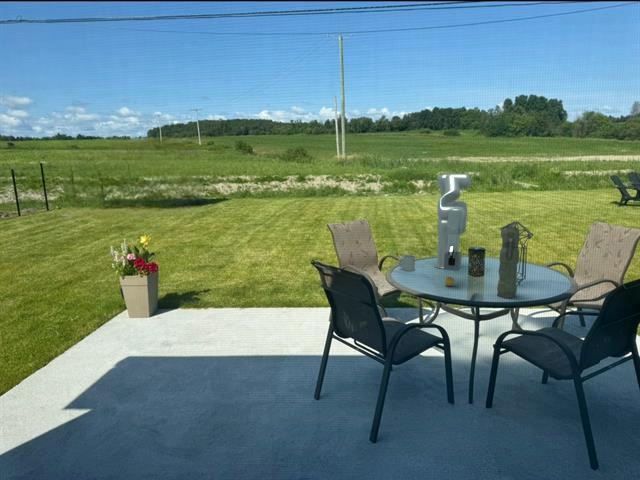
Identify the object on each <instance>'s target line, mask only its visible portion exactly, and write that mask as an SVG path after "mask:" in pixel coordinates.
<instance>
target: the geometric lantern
mask: <svg viewBox="0 0 640 480" xmlns="http://www.w3.org/2000/svg"><path fill="white" fill-rule="evenodd" d="M519 226H520V227H521V228H522V229H519ZM505 227H517V228H518V230H519V234H520V235H519V244H518V245H521V247H518V249H520V253H519V263H518V270H517V276H516V283H517V282H518V283H517V286H518V285H519V286H521V282H523V281H524V280H526V279H527V255H528V254H527V249H528V248H527V247H528V245H529V241H530V239H531V238H532V237H533V236H534V234H533V232H531V231H530V229H529V228H527V227H526V226H524V225H523V224H522V223H521V222H520V221H512V222H511V223H508V224H506V225H504V226H502V227H500V228H499V230H500V237H501V239H502V238H503V231H504V229H505ZM520 231H521V232H520ZM524 232H527V234H523V233H524ZM520 236H521V238H520ZM525 238H526V239H525ZM523 239H525V241H524V242H523V241H522V240H523ZM525 244H526V245H525ZM521 260H522V261H521ZM520 271H521V272H520ZM498 275H500V265H499V267H498ZM518 275H519V276H518ZM520 277H521V278H520Z"/></svg>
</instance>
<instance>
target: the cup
mask: <svg viewBox="0 0 640 480" xmlns="http://www.w3.org/2000/svg"><path fill="white" fill-rule="evenodd" d="M398 266H399V268H402V271H405V272H415V267H416V255H414V254H413V255H412V254H404V255H403V256H402V257H400V258H399V259H398Z"/></svg>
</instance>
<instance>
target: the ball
mask: <svg viewBox="0 0 640 480" xmlns="http://www.w3.org/2000/svg"><path fill="white" fill-rule="evenodd" d="M444 283H445V285H446V286H448V287H453V286H454V285H455V279H454V278H453V277H451V276H448V277H446V278H445V281H444Z"/></svg>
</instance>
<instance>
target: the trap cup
mask: <svg viewBox="0 0 640 480" xmlns="http://www.w3.org/2000/svg"><path fill="white" fill-rule="evenodd" d="M453 255H454V254H453ZM462 255H463V253H462V251H458V252H457V253H455V257H454V258H455V265H454V266H452V265H448V261H449V253H447V252H446V253H445V254H444V269H443V270H444V271H452V272H453V271H454V272H459V271H460V270H461V268H462Z"/></svg>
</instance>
